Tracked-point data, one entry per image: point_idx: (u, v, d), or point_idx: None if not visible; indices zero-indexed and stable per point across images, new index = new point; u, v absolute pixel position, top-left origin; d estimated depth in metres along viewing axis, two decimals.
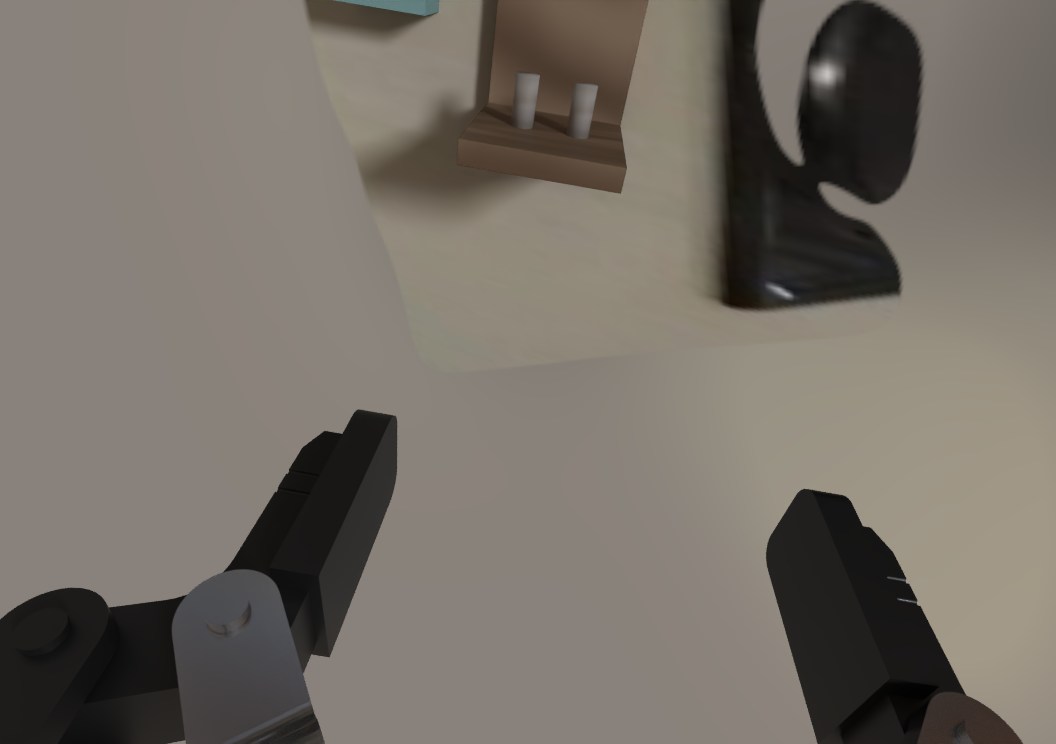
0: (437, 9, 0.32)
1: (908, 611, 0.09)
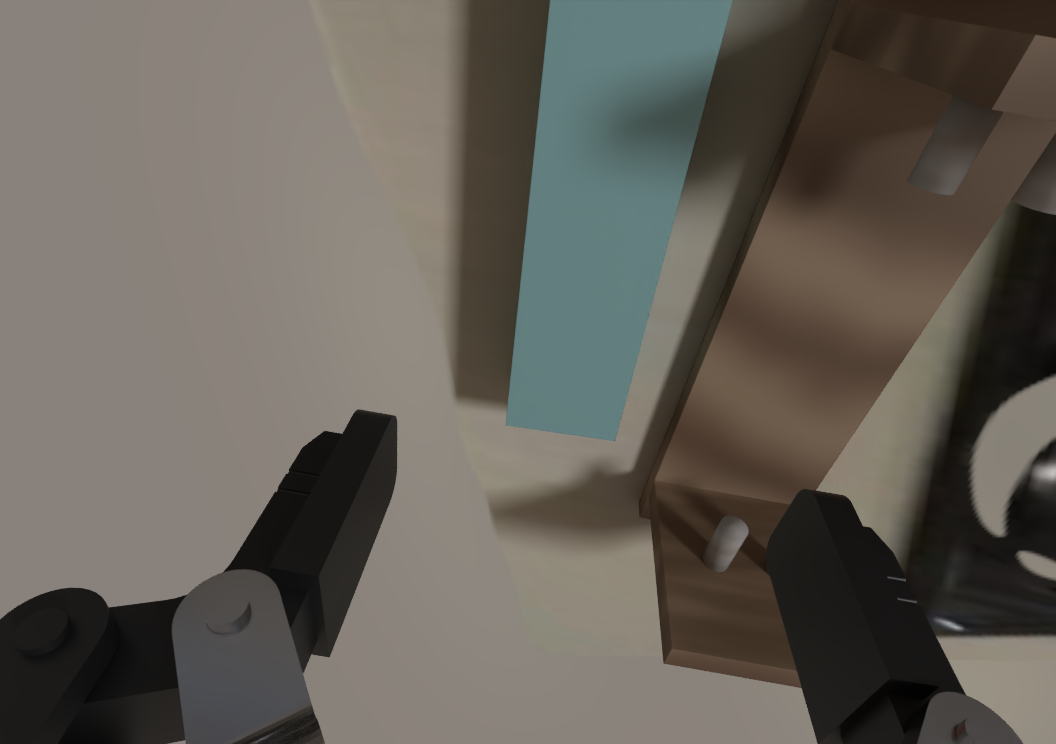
0: None
1: (908, 611, 0.09)
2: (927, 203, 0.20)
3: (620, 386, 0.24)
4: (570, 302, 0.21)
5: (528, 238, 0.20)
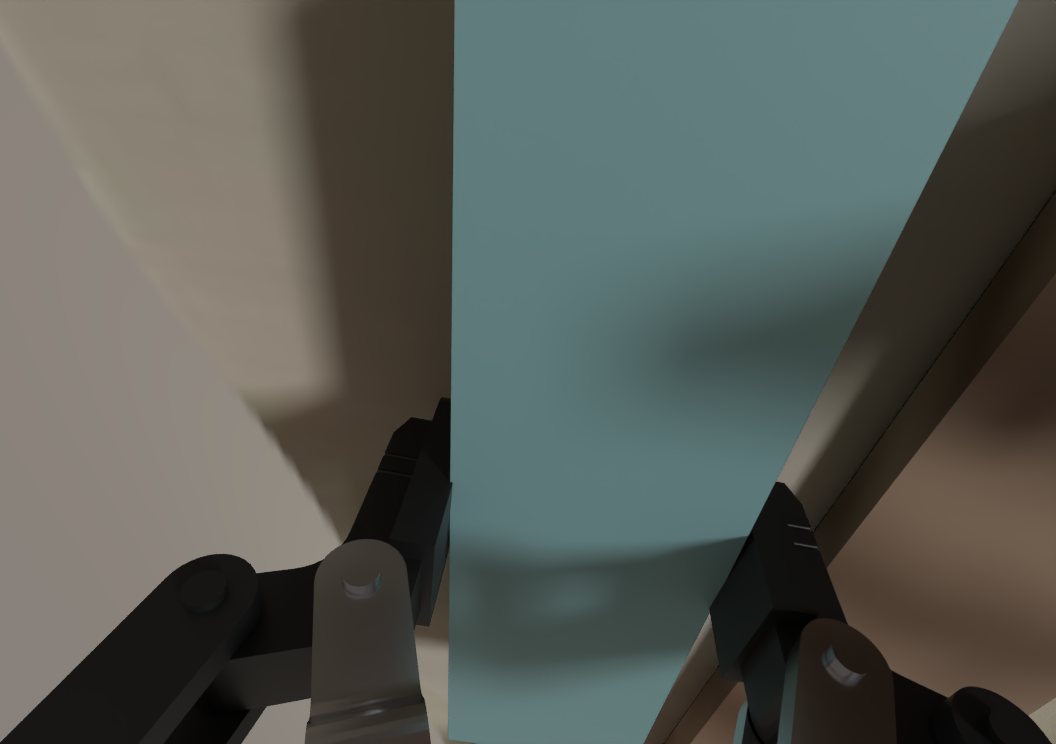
0: None
1: (807, 555, 0.10)
2: None
3: (640, 713, 0.13)
4: (547, 614, 0.11)
5: (456, 525, 0.10)
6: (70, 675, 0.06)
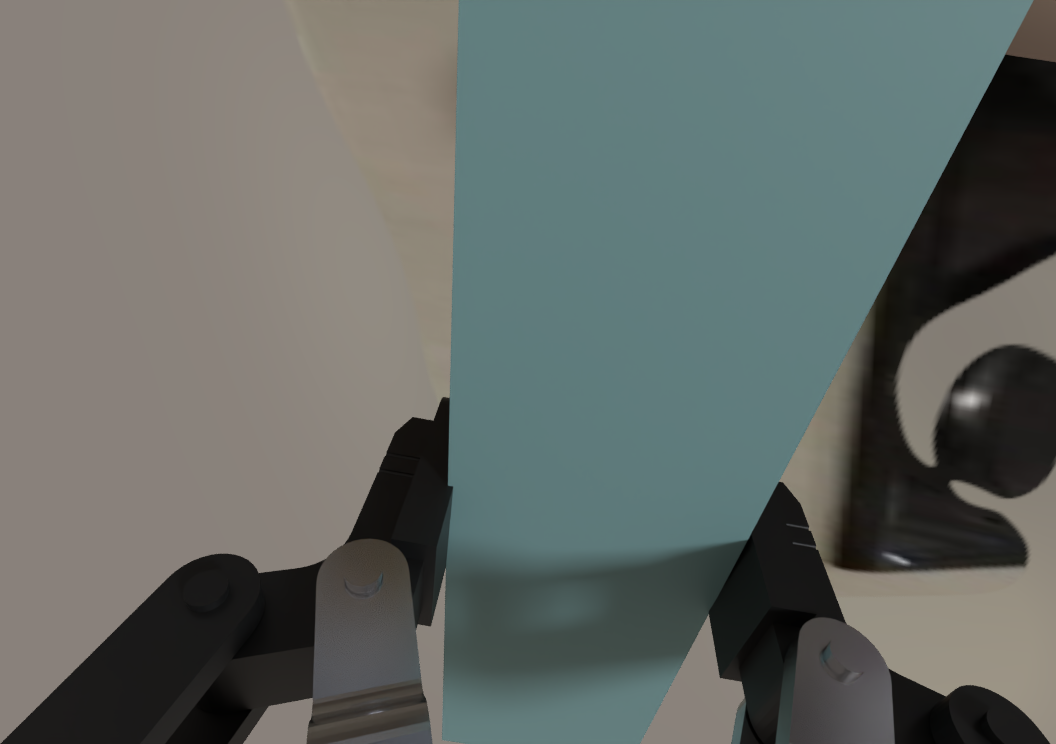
0: None
1: (806, 554, 0.10)
2: None
3: (636, 715, 0.13)
4: (544, 615, 0.11)
5: (453, 526, 0.10)
6: (73, 674, 0.06)
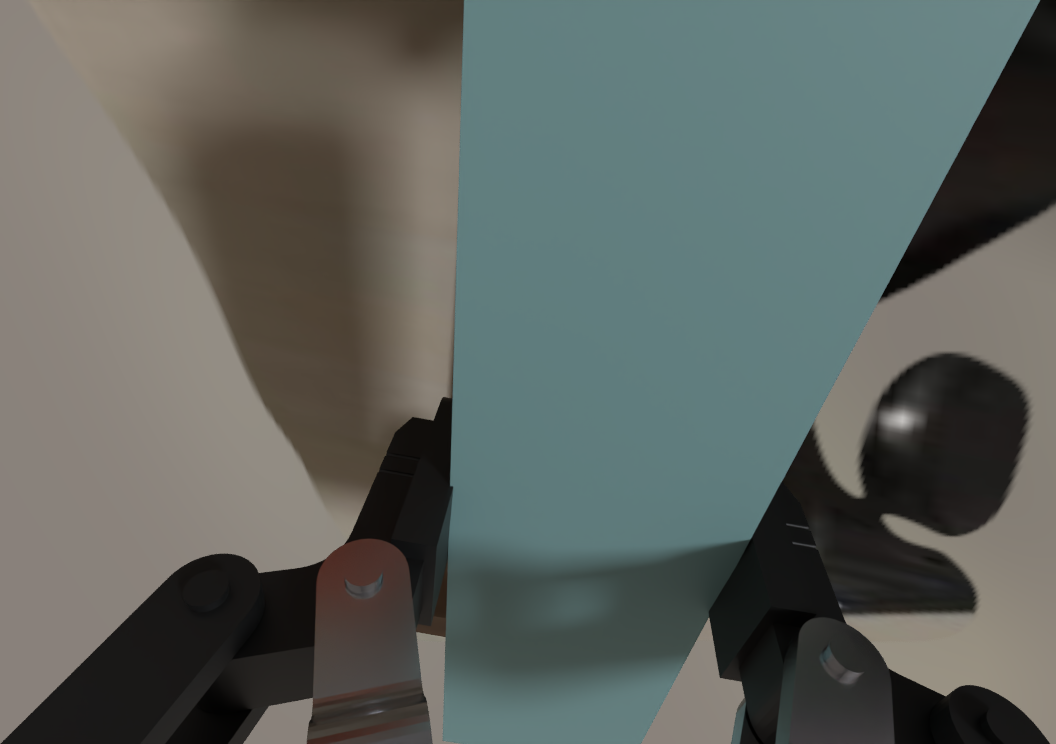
0: None
1: (805, 554, 0.10)
2: None
3: (637, 716, 0.13)
4: (546, 616, 0.11)
5: (455, 527, 0.10)
6: (73, 674, 0.06)
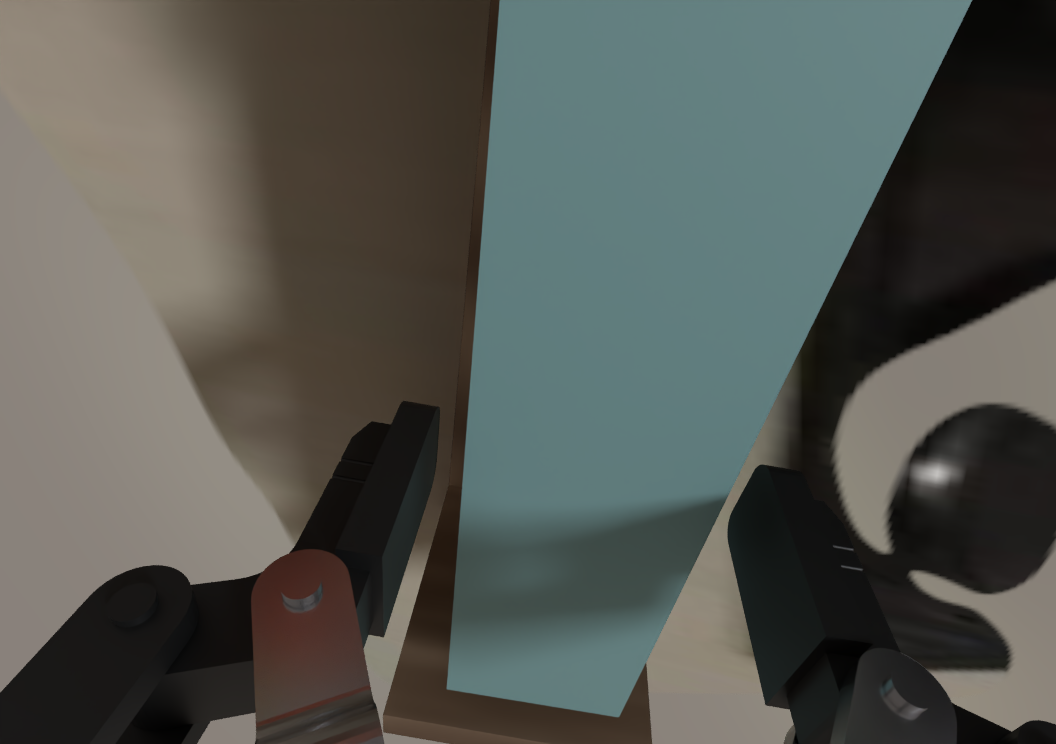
0: None
1: (853, 578, 0.09)
2: None
3: (630, 661, 0.14)
4: (548, 559, 0.12)
5: (469, 470, 0.11)
6: None
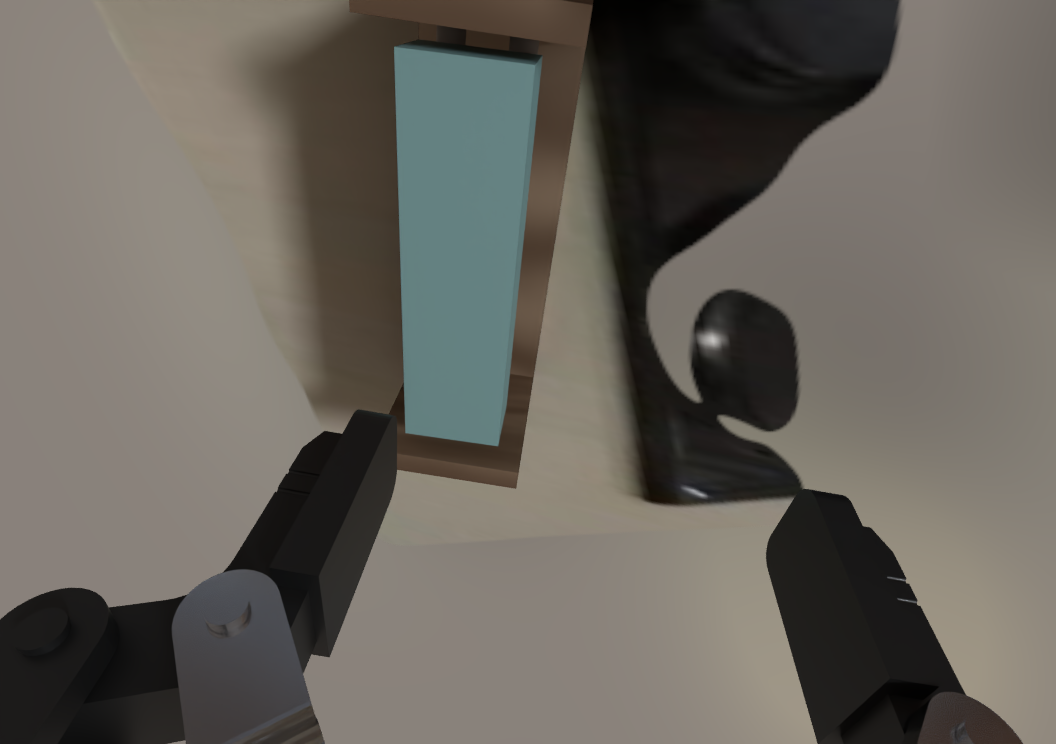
0: None
1: (908, 611, 0.09)
2: None
3: (494, 399, 0.28)
4: (444, 330, 0.26)
5: (403, 279, 0.25)
6: None
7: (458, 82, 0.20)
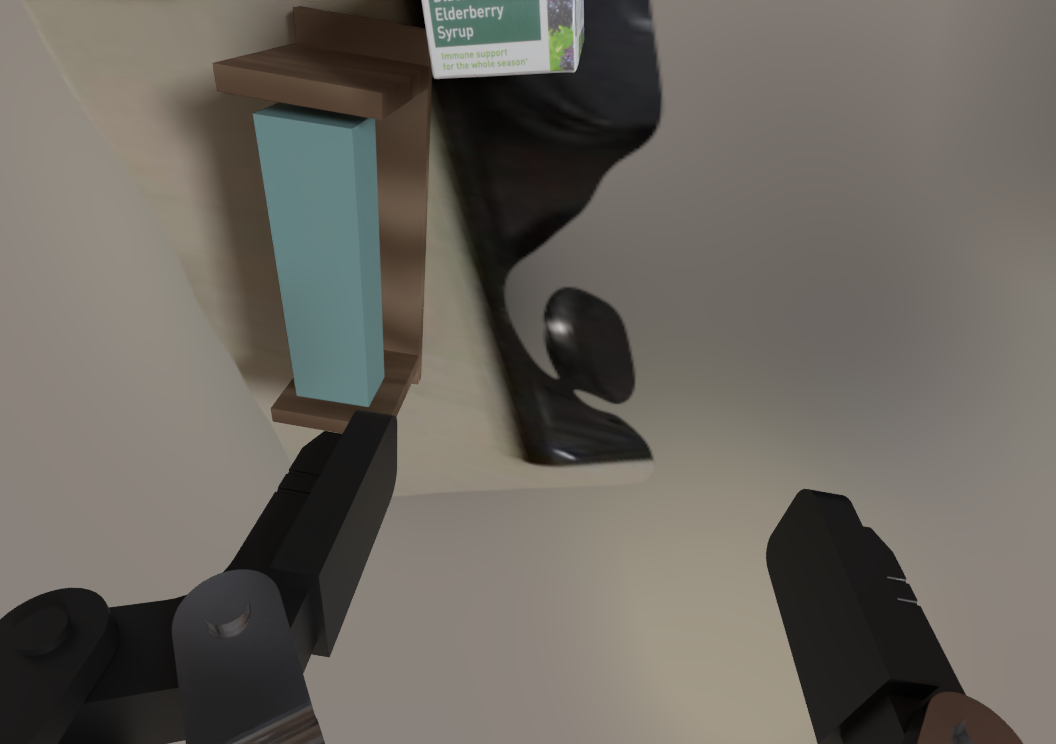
0: (381, 380, 0.41)
1: (908, 611, 0.09)
2: (386, 149, 0.37)
3: (360, 370, 0.36)
4: (315, 316, 0.34)
5: (280, 276, 0.33)
6: None
7: (301, 138, 0.28)
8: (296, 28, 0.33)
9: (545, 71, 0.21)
